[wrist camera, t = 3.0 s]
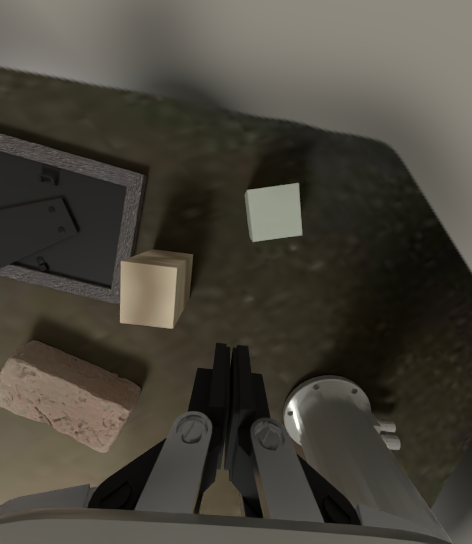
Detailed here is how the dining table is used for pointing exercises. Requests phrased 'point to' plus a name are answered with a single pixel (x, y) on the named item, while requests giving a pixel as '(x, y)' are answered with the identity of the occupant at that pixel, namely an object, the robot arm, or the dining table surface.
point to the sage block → (273, 212)
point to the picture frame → (66, 219)
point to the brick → (67, 394)
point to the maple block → (155, 288)
